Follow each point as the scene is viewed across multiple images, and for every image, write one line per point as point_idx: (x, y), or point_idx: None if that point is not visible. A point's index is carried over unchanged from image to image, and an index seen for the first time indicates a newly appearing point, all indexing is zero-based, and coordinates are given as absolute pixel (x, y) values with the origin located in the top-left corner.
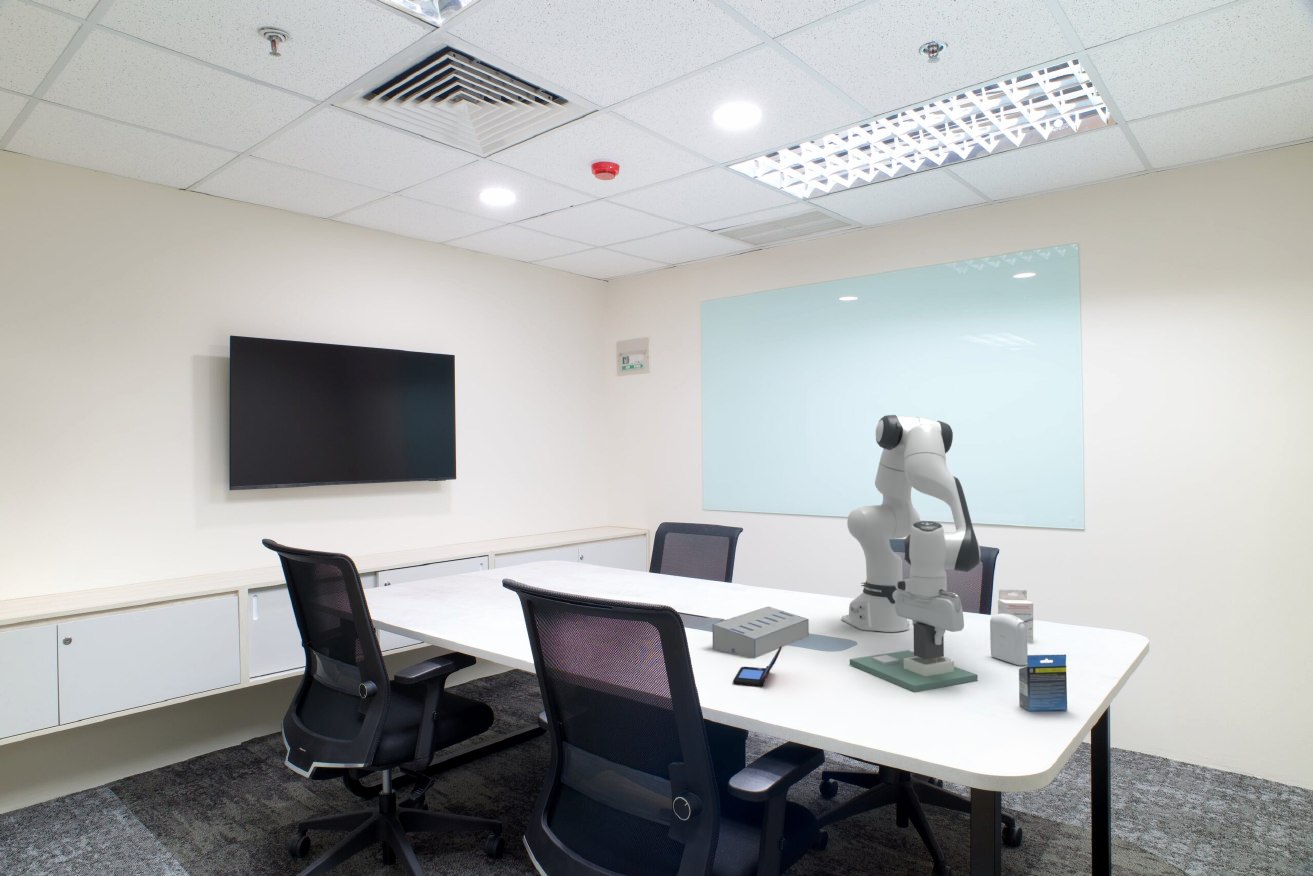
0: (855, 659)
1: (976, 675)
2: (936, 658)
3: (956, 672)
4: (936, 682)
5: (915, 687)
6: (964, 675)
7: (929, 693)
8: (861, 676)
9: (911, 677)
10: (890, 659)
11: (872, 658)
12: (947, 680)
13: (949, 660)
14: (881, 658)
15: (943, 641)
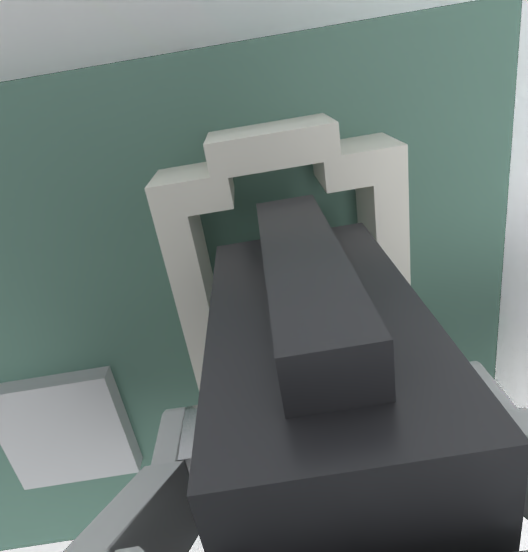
0: (5, 533)
1: (518, 5)
2: (232, 196)
3: (407, 128)
4: (494, 359)
5: None
6: (489, 118)
7: (516, 405)
8: (198, 540)
9: None
10: (82, 422)
11: (31, 485)
12: (500, 285)
13: (367, 162)
14: (53, 455)
15: (410, 286)
